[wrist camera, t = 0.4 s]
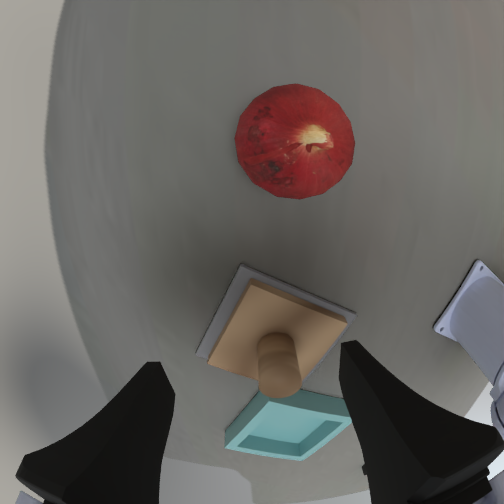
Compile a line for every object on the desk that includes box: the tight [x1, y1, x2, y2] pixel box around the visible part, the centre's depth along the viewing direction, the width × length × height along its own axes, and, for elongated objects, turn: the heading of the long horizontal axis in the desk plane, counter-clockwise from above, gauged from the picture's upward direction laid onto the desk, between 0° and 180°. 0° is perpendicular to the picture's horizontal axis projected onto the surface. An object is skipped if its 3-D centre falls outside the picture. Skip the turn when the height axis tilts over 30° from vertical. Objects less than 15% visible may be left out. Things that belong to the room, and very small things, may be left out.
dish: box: [224, 389, 352, 461], centre depth 25 cm, size 10×10×2 cm
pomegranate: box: [235, 84, 355, 199], centre depth 13 cm, size 6×6×8 cm
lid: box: [207, 278, 348, 398], centre depth 19 cm, size 8×8×5 cm
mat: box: [195, 264, 357, 384], centre depth 21 cm, size 10×9×1 cm
